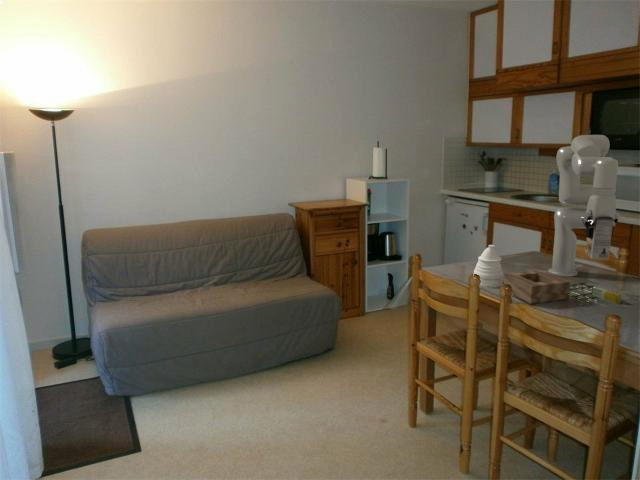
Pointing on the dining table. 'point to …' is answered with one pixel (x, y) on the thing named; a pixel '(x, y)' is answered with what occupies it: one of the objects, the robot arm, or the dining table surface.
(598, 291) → the medication box
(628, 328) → the dining table surface
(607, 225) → the coffee box
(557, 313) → the dining table surface
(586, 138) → the robot arm
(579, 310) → the dining table surface
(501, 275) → the honey pot
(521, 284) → the well block
